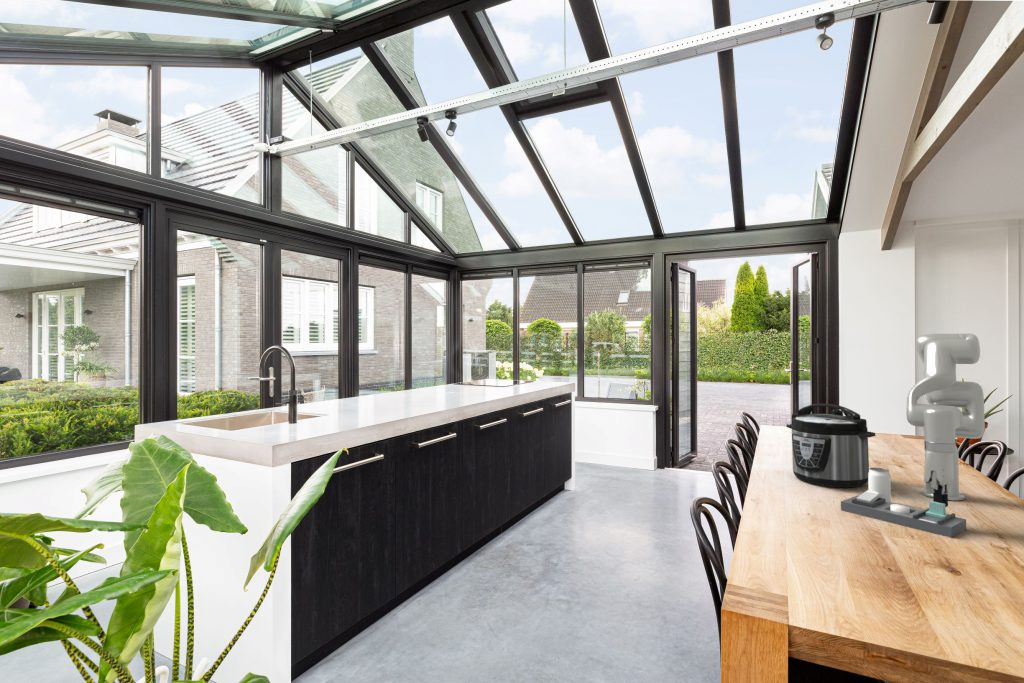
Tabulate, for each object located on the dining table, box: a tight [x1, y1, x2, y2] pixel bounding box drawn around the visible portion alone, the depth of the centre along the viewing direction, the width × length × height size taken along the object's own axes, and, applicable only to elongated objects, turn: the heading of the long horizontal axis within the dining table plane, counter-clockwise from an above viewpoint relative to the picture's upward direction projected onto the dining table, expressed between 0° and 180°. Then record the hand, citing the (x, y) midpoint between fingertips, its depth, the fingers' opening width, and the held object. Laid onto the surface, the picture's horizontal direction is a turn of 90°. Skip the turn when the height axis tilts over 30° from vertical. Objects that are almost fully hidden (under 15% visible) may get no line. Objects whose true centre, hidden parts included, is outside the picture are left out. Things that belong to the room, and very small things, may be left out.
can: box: [867, 467, 892, 503], centre depth 183 cm, size 6×6×12 cm
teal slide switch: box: [925, 500, 950, 519], centre depth 160 cm, size 4×5×4 cm
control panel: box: [840, 495, 967, 539], centre depth 166 cm, size 12×30×4 cm, turn 33°
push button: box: [890, 503, 910, 515], centre depth 166 cm, size 5×5×4 cm
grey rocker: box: [856, 489, 881, 503], centre depth 174 cm, size 8×4×1 cm, turn 123°
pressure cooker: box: [786, 403, 876, 488], centre depth 213 cm, size 30×28×32 cm
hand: (940, 505), depth 161 cm, fingers closed
